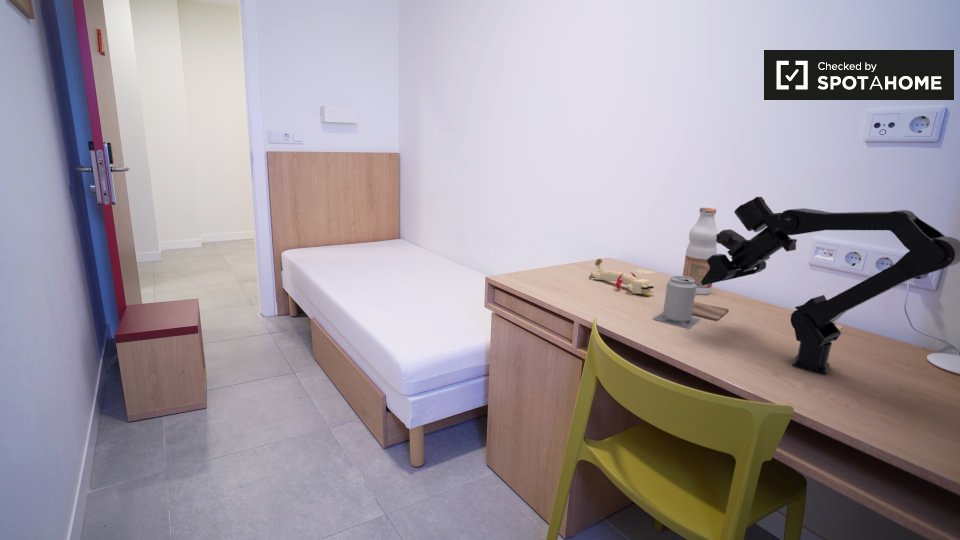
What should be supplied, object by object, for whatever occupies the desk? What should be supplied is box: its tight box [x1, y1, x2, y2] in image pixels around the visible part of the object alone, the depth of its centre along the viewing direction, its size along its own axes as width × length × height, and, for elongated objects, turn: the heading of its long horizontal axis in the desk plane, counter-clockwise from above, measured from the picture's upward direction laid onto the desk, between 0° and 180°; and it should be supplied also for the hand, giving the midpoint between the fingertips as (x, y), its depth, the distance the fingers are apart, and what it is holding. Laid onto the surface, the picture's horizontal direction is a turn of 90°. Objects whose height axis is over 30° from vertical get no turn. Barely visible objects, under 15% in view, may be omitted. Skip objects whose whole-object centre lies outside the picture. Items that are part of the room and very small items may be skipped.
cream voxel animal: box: [588, 258, 654, 296], centre depth 167 cm, size 10×9×25 cm
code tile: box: [652, 311, 701, 329], centre depth 138 cm, size 10×10×1 cm
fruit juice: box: [682, 207, 720, 296], centre depth 163 cm, size 9×9×28 cm
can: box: [662, 275, 696, 323], centre depth 137 cm, size 8×8×12 cm
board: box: [692, 301, 729, 322], centre depth 146 cm, size 12×12×1 cm
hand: (712, 281), depth 129 cm, fingers open, 9 cm apart
